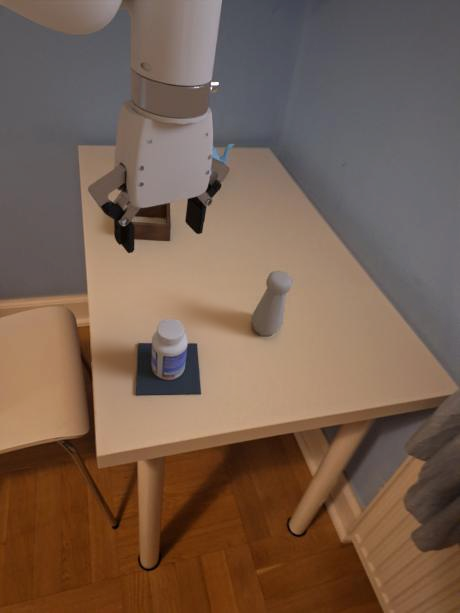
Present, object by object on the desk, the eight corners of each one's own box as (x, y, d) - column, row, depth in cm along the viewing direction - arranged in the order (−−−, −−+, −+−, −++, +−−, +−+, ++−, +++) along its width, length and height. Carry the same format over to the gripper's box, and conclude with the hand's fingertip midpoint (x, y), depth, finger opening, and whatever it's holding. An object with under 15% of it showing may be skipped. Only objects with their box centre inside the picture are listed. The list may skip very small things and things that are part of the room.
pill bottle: (190, 362, 67) (196, 324, 60) (174, 386, 64) (178, 348, 57) (162, 348, 68) (164, 309, 62) (144, 371, 65) (145, 332, 58)
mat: (135, 395, 62) (135, 394, 62) (138, 344, 69) (138, 342, 68) (200, 394, 64) (201, 393, 64) (196, 344, 71) (197, 343, 70)
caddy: (125, 238, 88) (124, 223, 85) (127, 213, 94) (127, 198, 92) (169, 241, 90) (170, 226, 87) (169, 216, 96) (170, 201, 94)
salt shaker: (272, 315, 79) (290, 264, 70) (284, 337, 75) (304, 286, 66) (245, 319, 77) (259, 267, 68) (255, 342, 73) (272, 290, 64)
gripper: (220, 76, 45) (201, 207, 57) (65, 81, 36) (81, 236, 48) (262, 102, 42) (232, 237, 54) (101, 116, 33) (109, 274, 45)
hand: (161, 236), depth 51 cm, fingers open, 9 cm apart
